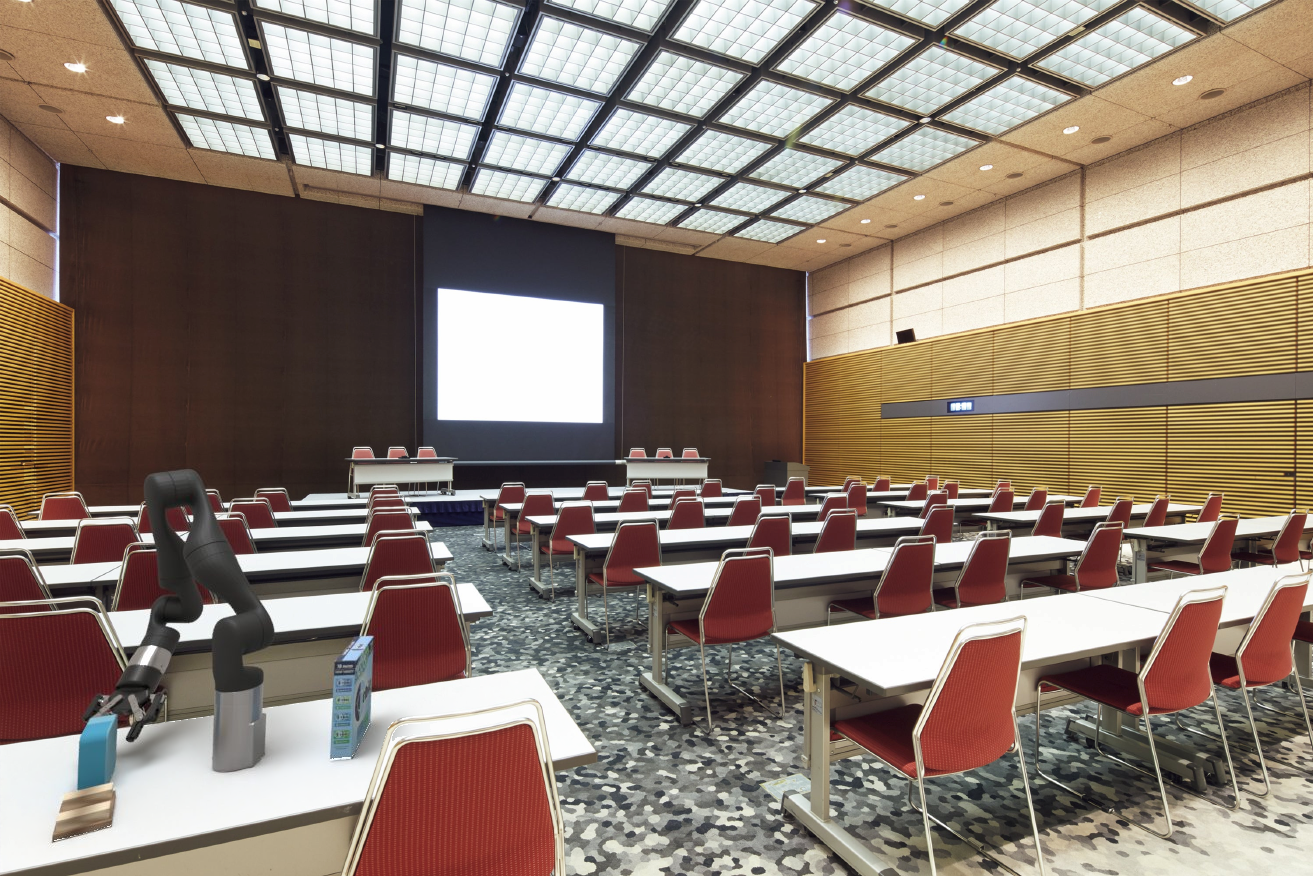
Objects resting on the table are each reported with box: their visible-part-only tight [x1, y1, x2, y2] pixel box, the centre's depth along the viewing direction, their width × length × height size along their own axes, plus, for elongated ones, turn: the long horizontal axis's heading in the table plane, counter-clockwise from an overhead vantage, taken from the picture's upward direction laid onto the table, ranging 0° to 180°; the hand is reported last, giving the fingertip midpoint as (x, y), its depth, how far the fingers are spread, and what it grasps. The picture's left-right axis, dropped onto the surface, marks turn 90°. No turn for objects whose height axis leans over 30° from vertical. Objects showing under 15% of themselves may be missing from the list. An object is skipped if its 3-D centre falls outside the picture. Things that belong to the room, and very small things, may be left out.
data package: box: [76, 714, 119, 791], centre depth 133 cm, size 12×4×12 cm, turn 33°
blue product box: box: [329, 635, 375, 760], centre depth 153 cm, size 20×5×23 cm, turn 13°
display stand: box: [51, 781, 117, 842], centre depth 120 cm, size 8×13×3 cm, turn 38°
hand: (107, 741), depth 137 cm, fingers open, 8 cm apart
